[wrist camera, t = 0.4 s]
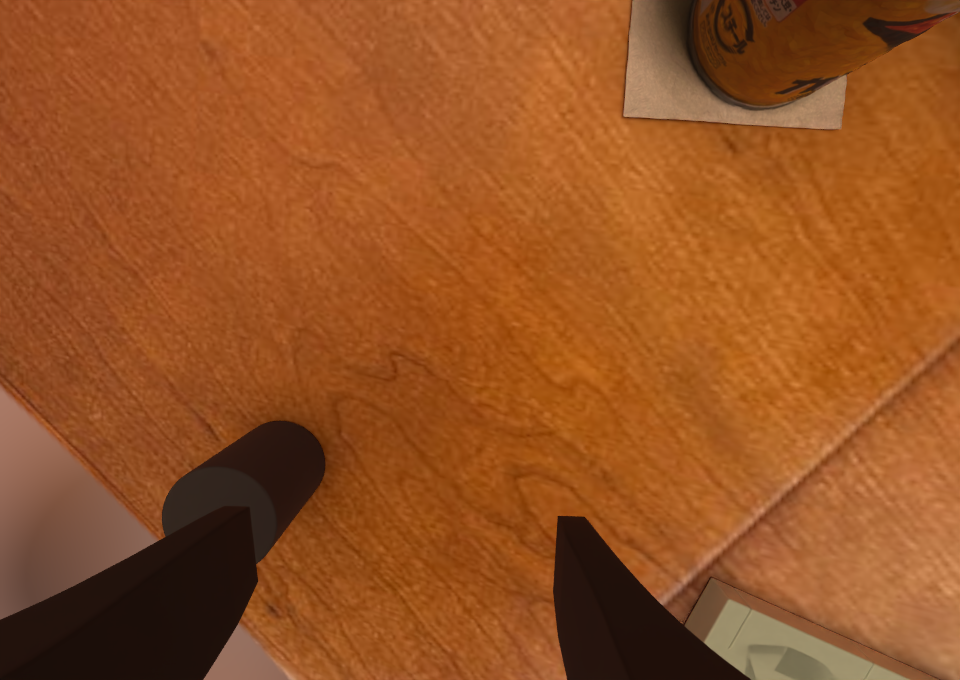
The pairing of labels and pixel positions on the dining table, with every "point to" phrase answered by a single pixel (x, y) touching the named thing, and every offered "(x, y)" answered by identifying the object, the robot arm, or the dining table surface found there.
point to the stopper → (252, 482)
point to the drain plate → (783, 642)
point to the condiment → (761, 56)
